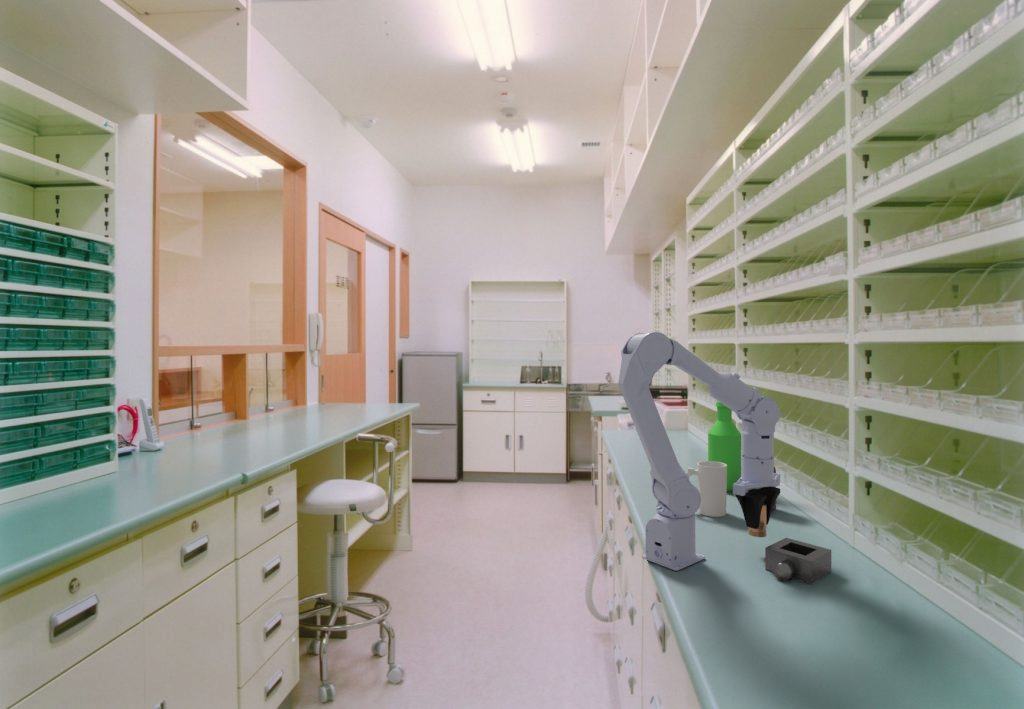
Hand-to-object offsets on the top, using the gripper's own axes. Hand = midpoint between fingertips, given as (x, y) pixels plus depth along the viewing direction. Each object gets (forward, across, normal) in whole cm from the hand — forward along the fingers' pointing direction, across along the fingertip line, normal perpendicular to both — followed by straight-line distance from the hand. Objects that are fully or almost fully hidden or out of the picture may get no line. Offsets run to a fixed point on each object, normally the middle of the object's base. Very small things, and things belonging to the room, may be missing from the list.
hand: (757, 525), depth 105 cm
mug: (+6, +15, +21) cm, 26 cm away
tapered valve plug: (+2, 0, 0) cm, 2 cm away
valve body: (+6, -2, -9) cm, 10 cm away
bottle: (+6, +39, +30) cm, 50 cm away
